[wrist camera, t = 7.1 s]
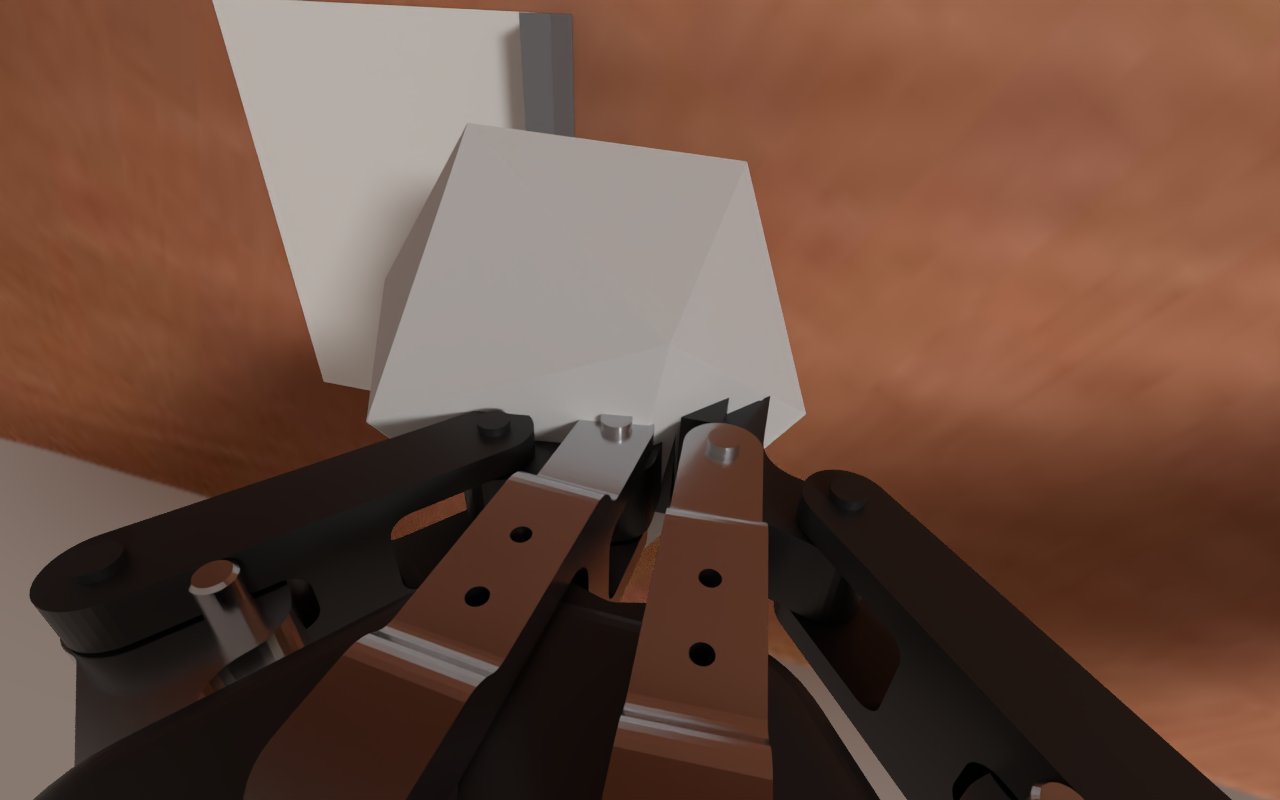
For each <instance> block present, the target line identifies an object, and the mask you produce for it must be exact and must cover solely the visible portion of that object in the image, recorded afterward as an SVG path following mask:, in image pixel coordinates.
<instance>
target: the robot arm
mask: <svg viewBox="0 0 1280 800" xmlns="http://www.w3.org/2000/svg"><path fill="white" fill-rule="evenodd" d="M769 401H770V396H768V397H766V398H764V399H763V400H762V401H756V402H754V403H752V404H749V405H747V406H745V407H742V408H740V409H738V410H735V411H733V412H731V413H728V414H727V411H728V404H729V398H727V399H724V400H722V401H719V402H717V403H714V404H712V405H709V406H707V407H704V408H702V409H699V410H697V411H695V412H692V413H690V414H687V415H685V416H682V417H681V425H680V436H679V446H678V457H677V467H676V478H675V486H674V491H673V484H674V462H675V441H676V435H675V439H674V442H673V445H672V449H671V452H670V456H669V459H668V462H667V466H666V469H665V473H664V476H663V479H662V483H661V476H662V442H660V443H658V444H655V445H653V444H654V429H655V426H654V424H652V425H637V424H632V423H633V417H632V416H622V415H610V414H602V415H601V417H600V421H589V420H579V421H578V422H577V424H576V425H575V426H574V427H573V429H572V430H571V431H570V433H569V434H568V435H567V437H566V438H565V439H564V441H563V442H562V443H559V442H547V441H536V440H535V435H534V423H533V420H532V418H531V417H530V416H529V415H518V414H507V413H505V412H503V411H496V410H495V411H488V412H483V411H472V412H469V413H466V414H463V415H460V416H457V417H454V418H451V419H448V420H445V421H442V422H439V423H436V424H433V425H429V426H426V427H423V428H420V429H417V430H414V431H411V432H408V433H405V434H402V435H399V436H396V437H393V438H390V439H387V440H384V441H381V442H378V443H375V444H372V445H369V446H366V447H363V448H360V449H357V450H354V451H351V452H348V453H345V454H342V455H339V456H336V457H333V458H330V459H327V460H324V461H321V462H318V463H315V464H312V465H309V466H306V467H303V468H300V469H297V470H294V471H291V472H288V473H285V474H282V475H279V476H276V477H273V478H270V479H267V480H264V481H261V482H258V483H255V484H252V485H249V486H246V487H243V488H240V489H237V490H234V491H231V492H228V493H225V494H222V495H219V496H215V497H212V498H209V499H206V500H203V501H201V502H197V503H194V504H191V505H189V506H185V507H183V508H179V509H176V510H173V511H170V512H167V513H164V514H161V515H158V516H155V517H152V518H149V519H146V520H143V521H140V522H137V523H134V524H131V525H128V526H125V527H122V528H119V529H116V530H113V531H110V532H107V533H104V534H101V535H98V536H96V537H93V538H90V539H88V540H86V541H83V542H81V543H79V544H77V545H75V546H74V547H72V548H70V549H68V550H67V551H65V552H63V553H62V554H60V555H59V556H58V557H56V558H55V559H54V560H52V561H51V562H50V563H49V564H48V565H47V566H45V567H44V568H43V570H42V571H41V572H40V573H39V574H38V575H37V577H36V578H35V580H34V581H33V583H32V586H31V588H30V599H31V602H32V603H33V604H34V605H35V607H36V608H37V609H38V611H39V612H40V613H41V614H42V616H43V617H44V618H45V619H46V621H47V622H48V623H49V624H50V626H51V627H52V628H53V630H54V631H55V632H56V633H57V635H58V636H59V637H60V642H61V645H62V647H63V649H64V650H65V651H66V652H67V654H68V655H69V656H70V657H71V659H72V660H73V661H74V662H75V664H76V666H77V667H76V717H75V721H76V722H75V767H74V768H72V769H70V770H69V771H68V772H66V773H65V774H64V775H63V776H61V777H60V778H59V779H57V780H56V781H55V782H53V783H52V784H51V785H49V786H48V787H47V788H46V789H45V790H44V791H42V792H41V793H40V794H39V795H38V796H37V797H36V798H35V799H34V800H880V799H879V797H878V796H877V794H876V793H875V791H874V789H873V788H872V786H871V785H870V783H869V782H868V780H867V779H866V777H865V776H864V774H863V772H862V771H861V770H860V768H859V766H858V765H857V763H856V762H855V760H854V759H853V757H852V755H851V754H850V752H849V751H848V749H847V748H846V746H845V745H844V743H843V742H842V740H841V739H840V737H839V735H838V734H837V732H836V731H835V729H834V728H833V726H832V725H831V723H830V722H829V720H828V718H827V717H826V715H825V714H824V712H823V711H822V709H821V708H820V706H819V705H818V704H817V702H816V701H815V699H814V698H813V696H812V695H811V694H810V693H809V692H808V691H807V689H806V688H805V687H804V686H803V684H802V683H801V682H800V681H799V680H798V679H797V678H796V677H795V676H794V675H793V674H792V673H791V672H790V671H789V670H788V669H787V668H786V667H785V666H783V665H782V664H781V663H780V662H778V661H777V660H776V659H775V658H773V657H772V656H770V655H769V654H768V598H769V599H771V600H773V601H774V610H775V614H776V616H777V619H778V620H779V622H780V623H781V625H782V626H783V628H784V629H785V630H786V632H787V633H788V635H789V636H790V637H791V639H792V640H793V642H794V643H795V644H796V646H797V647H798V649H799V650H800V651H801V653H802V654H803V655H804V657H805V658H806V660H807V661H808V662H809V664H810V665H811V667H812V668H813V669H814V671H815V672H816V674H817V675H818V676H819V678H820V679H821V680H822V682H823V683H824V685H825V686H826V687H827V689H828V690H829V692H830V693H831V694H832V696H833V697H834V699H835V700H836V701H837V703H838V704H839V705H840V707H841V708H842V710H843V711H844V712H845V714H846V715H847V717H848V718H849V719H850V721H851V722H852V724H853V725H854V726H855V728H856V729H857V731H858V732H859V733H860V735H861V736H862V737H863V739H864V740H865V742H866V743H867V744H868V746H869V747H870V749H871V750H872V751H873V753H874V754H875V756H876V757H877V758H878V760H879V761H880V762H881V764H882V765H883V767H884V768H885V769H886V771H887V772H888V773H889V775H890V776H891V778H892V779H893V781H894V782H895V783H896V785H897V786H898V788H899V789H900V790H901V792H902V793H903V795H904V796H905V797H906V799H907V800H1231V799H1230V798H1229V797H1228V796H1227V795H1226V794H1225V793H1224V792H1222V791H1221V790H1220V789H1219V788H1218V787H1217V786H1216V785H1215V784H1213V783H1212V782H1211V781H1210V780H1209V779H1208V778H1207V777H1206V776H1204V775H1203V774H1202V773H1201V772H1200V771H1199V770H1198V769H1197V768H1195V767H1194V766H1193V765H1192V764H1191V763H1190V762H1189V761H1188V760H1186V759H1185V758H1184V757H1183V756H1182V755H1181V754H1180V753H1179V752H1177V751H1176V750H1175V749H1174V748H1173V747H1172V746H1171V745H1170V744H1169V743H1167V742H1166V741H1165V740H1164V739H1163V738H1162V737H1161V736H1160V735H1158V734H1157V733H1156V732H1155V731H1154V730H1153V729H1152V728H1151V727H1149V726H1148V725H1147V724H1146V723H1145V722H1144V721H1143V720H1142V719H1140V718H1139V717H1138V716H1137V715H1136V714H1135V713H1134V712H1133V711H1131V710H1130V709H1129V708H1128V707H1127V706H1126V705H1125V704H1124V703H1122V702H1121V701H1120V700H1119V699H1118V698H1117V697H1116V696H1115V695H1113V694H1112V693H1111V692H1110V691H1109V690H1108V689H1107V688H1106V687H1104V686H1103V685H1102V684H1101V683H1100V682H1099V681H1098V680H1097V679H1095V678H1094V677H1093V676H1092V675H1091V674H1090V673H1089V672H1088V671H1086V670H1085V669H1084V668H1083V667H1082V666H1081V665H1080V664H1079V663H1077V662H1076V661H1075V660H1074V659H1073V658H1072V657H1071V656H1070V655H1068V654H1067V653H1066V652H1065V651H1064V650H1063V649H1062V648H1061V647H1060V646H1058V645H1057V644H1056V643H1055V642H1054V641H1053V640H1052V639H1051V638H1049V637H1048V636H1047V635H1046V634H1045V633H1044V632H1043V631H1042V630H1040V629H1039V628H1038V627H1037V626H1036V625H1035V624H1034V623H1033V622H1031V621H1030V620H1029V619H1028V618H1027V617H1026V616H1025V615H1024V614H1022V613H1021V612H1020V611H1019V610H1018V609H1017V608H1016V607H1015V606H1013V605H1012V604H1011V603H1010V602H1009V601H1008V600H1007V599H1006V598H1004V597H1003V596H1002V595H1001V594H1000V593H999V592H998V591H997V590H995V589H994V588H993V587H992V586H991V585H990V584H989V583H988V582H986V581H985V580H984V579H983V578H982V577H981V576H980V575H979V574H977V573H976V572H975V571H974V570H973V569H972V568H971V567H970V566H968V565H967V564H966V563H965V562H964V561H963V560H962V559H961V558H960V557H958V556H957V555H956V554H955V553H954V552H953V551H952V550H951V549H949V548H948V547H947V546H946V545H945V544H944V543H943V542H942V541H940V540H939V539H938V538H937V537H936V536H935V535H934V534H933V533H931V532H930V531H929V530H928V529H927V528H926V527H925V526H924V525H922V524H921V523H920V522H919V521H918V520H917V519H916V518H915V517H913V516H912V515H911V514H910V513H909V512H908V511H907V510H906V509H904V508H903V507H902V506H901V505H900V504H899V503H898V502H897V501H895V500H894V499H893V498H892V497H891V496H890V495H889V494H888V493H886V492H885V491H884V490H883V489H882V488H881V487H880V486H878V485H877V484H876V483H874V482H873V481H871V480H869V479H867V478H865V477H863V476H861V475H858V474H855V473H852V472H848V471H842V470H824V471H819V472H817V473H814V474H812V475H811V476H809V477H808V478H807V479H806V480H805V481H803V480H801V479H799V478H796V477H794V476H792V475H790V474H788V473H786V472H784V471H782V470H781V469H779V468H778V467H777V466H776V465H774V464H773V463H772V462H771V461H770V459H769V458H768V457H767V455H766V453H765V451H764V436H765V429H766V422H767V416H768V409H769ZM462 492H464V494H465V500H466V506H467V510H465V511H463V512H461V513H458V514H456V515H453V516H451V517H449V518H446V519H444V520H442V521H439V522H437V523H434V524H432V525H430V526H427V527H425V528H423V529H420V530H418V531H416V532H413V533H411V534H408V535H406V536H404V537H401V538H399V539H396V540H391V532H392V529H393V527H394V526H395V524H396V523H397V522H398V521H399V520H400V519H401V518H403V517H404V516H406V515H408V514H410V513H412V512H415V511H417V510H420V509H422V508H425V507H427V506H430V505H432V504H435V503H437V502H440V501H442V500H444V499H447V498H449V497H452V496H454V495H457V494H459V493H462ZM655 512H658V513H663V514H665V518H664V522H663V527H662V532H661V537H660V541H659V546H658V551H657V556H656V560H655V565H654V570H653V574H652V579H651V584H650V589H649V593H648V598H647V603H623V602H620V600H621V598H622V595H623V593H624V591H625V589H626V587H627V584H628V582H629V580H630V578H631V576H632V573H633V571H634V569H635V567H636V565H637V562H638V560H639V558H640V556H641V554H642V551H643V549H644V547H645V545H646V542H647V535H648V528H649V526H650V524H651V522H652V519H653V516H654V513H655Z"/></svg>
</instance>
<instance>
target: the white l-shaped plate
mask: <svg viewBox="0 0 1280 800" xmlns="http://www.w3.org/2000/svg"><path fill="white" fill-rule="evenodd" d="M213 4H214V7H215V11H216V14H217V17H218V21H219V24H220V28H221V31H222V35H223V38H224V41H225V45H226V48H227V52H228V55H229V59H230V62H231V65H232V69H233V72H234V76H235V79H236V83H237V86H238V89H239V93H240V96H241V100H242V103H243V107H244V110H245V113H246V117H247V120H248V124H249V127H250V131H251V134H252V138H253V141H254V144H255V148H256V151H257V155H258V158H259V162H260V165H261V168H262V172H263V175H264V179H265V182H266V186H267V189H268V192H269V196H270V199H271V203H272V206H273V210H274V213H275V216H276V220H277V223H278V227H279V230H280V234H281V237H282V240H283V244H284V247H285V251H286V254H287V258H288V261H289V264H290V268H291V271H292V275H293V278H294V282H295V285H296V288H297V292H298V295H299V299H300V302H301V306H302V309H303V313H304V316H305V319H306V323H307V326H308V330H309V333H310V337H311V340H312V343H313V347H314V350H315V354H316V357H317V361H318V364H319V367H320V371H321V374H322V378H323V381H324V382H328V383H333V384H338V385H344V386H349V387H354V388H359V389H364V390H370V389H371V382H372V374H373V366H374V359H375V351H376V343H377V335H378V328H379V320H380V312H381V305H382V297H383V289H384V282H385V278H386V276H387V275H388V273H389V271H390V269H391V267H392V265H393V263H394V261H395V259H396V257H397V256H398V254H399V252H400V250H401V248H402V246H403V244H404V242H405V240H406V239H407V237H408V235H409V233H410V231H411V229H412V227H413V225H414V223H415V221H416V220H417V218H418V216H419V214H420V212H421V210H422V208H423V206H424V204H425V202H426V201H427V199H428V197H429V195H430V193H431V191H432V189H433V187H434V185H435V184H436V182H437V180H438V178H439V176H440V174H441V172H442V170H443V168H444V166H445V165H446V163H447V161H448V159H449V157H450V155H451V153H452V151H453V149H454V148H455V146H456V144H457V142H458V140H459V138H460V136H461V134H462V132H463V130H464V129H465V127H466V125H467V123H474V124H481V125H488V126H495V127H502V128H510V129H517V130H524V131H531V132H538V133H546V134H553V135H560V136H567V137H574V89H573V33H572V14H552V13H532V12H513V11H493V10H473V9H453V8H433V7H414V6H394V5H374V4H354V3H334V2H315V1H295V0H213Z"/></svg>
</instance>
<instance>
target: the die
mask: <svg viewBox="0 0 1280 800" xmlns="http://www.w3.org/2000/svg"><path fill="white" fill-rule="evenodd" d="M768 396H770V401H769V409H768V416H767V422H766V429H765V436H764V449H765V448H766V447H767V446H768V445H769V444H771V443H772V442H773V441H774V440H775V439H777V438H778V437H779V436H780V435H782V434H783V433H784V432H785V431H786V430H788V429H789V428H790V427H791V426H792V425H794V424H795V423H796V422H797V421H798V420H800V419H801V418H802V417H803V416H804V415H806V412H805V408H804V404H803V399H802V395H801V391H800V387H799V382H798V378H797V374H796V370H795V365H794V361H793V357H792V352H791V348H790V344H789V340H788V335H787V331H786V327H785V322H784V318H783V314H782V310H781V305H780V301H779V297H778V292H777V288H776V284H775V280H774V275H773V271H772V267H771V263H770V258H769V254H768V250H767V245H766V241H765V237H764V233H763V228H762V224H761V220H760V215H759V211H758V207H757V203H756V198H755V194H754V190H753V185H752V181H751V177H750V173H749V168H748V164H747V162H746V161H739V160H732V159H725V158H718V157H711V156H703V155H696V154H689V153H682V152H675V151H668V150H660V149H653V148H646V147H639V146H632V145H624V144H617V143H610V142H603V141H596V140H589V139H581V138H574V137H567V136H560V135H553V134H546V133H538V132H531V131H524V130H517V129H510V128H502V127H495V126H488V125H481V124H474V123H467V125H466V127H465V129H464V130H463V132H462V134H461V136H460V138H459V140H458V142H457V144H456V146H455V148H454V149H453V151H452V153H451V155H450V157H449V159H448V161H447V163H446V165H445V166H444V168H443V170H442V172H441V174H440V176H439V178H438V180H437V182H436V184H435V185H434V187H433V189H432V191H431V193H430V195H429V197H428V199H427V201H426V202H425V204H424V206H423V208H422V210H421V212H420V214H419V216H418V218H417V220H416V221H415V223H414V225H413V227H412V229H411V231H410V233H409V235H408V237H407V239H406V240H405V242H404V244H403V246H402V248H401V250H400V252H399V254H398V256H397V257H396V259H395V261H394V263H393V265H392V267H391V269H390V271H389V273H388V275H387V276H386V278H385V282H384V289H383V297H382V305H381V312H380V320H379V328H378V335H377V343H376V351H375V359H374V366H373V374H372V382H371V389H370V397H369V405H368V413H367V420H366V422H367V423H368V424H370V425H371V426H373V427H374V428H375V429H377V430H378V431H380V432H381V433H382V434H384V435H385V436H387V437H388V438H389V439H390V438H393V437H396V436H399V435H402V434H405V433H408V432H411V431H414V430H417V429H420V428H423V427H426V426H429V425H433V424H436V423H439V422H442V421H445V420H448V419H451V418H454V417H457V416H460V415H463V414H466V413H469V412H472V411H483V412H488V411H495V410H496V411H503V412H505V413H507V414H518V415H529V416H530V417H531V418H532V420H533V423H534V435H535V440H536V441H547V442H559V443H562V442H563V441H564V439H565V438H566V437H567V435H568V434H569V433H570V431H571V430H572V429H573V427H574V426H575V425H576V424H577V422H578V421H579V420H589V421H600V417H601V415H602V414H610V415H622V416H632V417H633V423H632V424H637V425H652V424H654V426H655V429H654V444H653V445H655V444H658V443H660V442H662V476H661V483H662V479H663V476H664V473H665V469H666V466H667V462H668V459H669V456H670V452H671V449H672V445H673V442H674V439H675V435H676V441H675V462H674V484H673V491H674V486H675V478H676V467H677V457H678V446H679V436H680V425H681V417H682V416H685V415H687V414H690V413H692V412H695V411H697V410H699V409H702V408H704V407H707V406H709V405H712V404H714V403H717V402H719V401H722V400H724V399H727V398H729V404H728V411H727V414H728V413H731V412H733V411H735V410H738V409H740V408H742V407H745V406H747V405H749V404H752V403H754V402H756V401H762V400H763V399H764V398H766V397H768ZM664 518H665V514H663V513H658V512H655V513H654V516H653V519H652V522H651V524H650V526H649V528H648V535H647V542H646V545H645V547H647V546H648V545H649V544H650V543H651V542H653V541H654V540H655V539H656V538H657V537H659V536H660V535H661V532H662V527H663V522H664ZM645 547H644V548H645Z"/></svg>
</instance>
